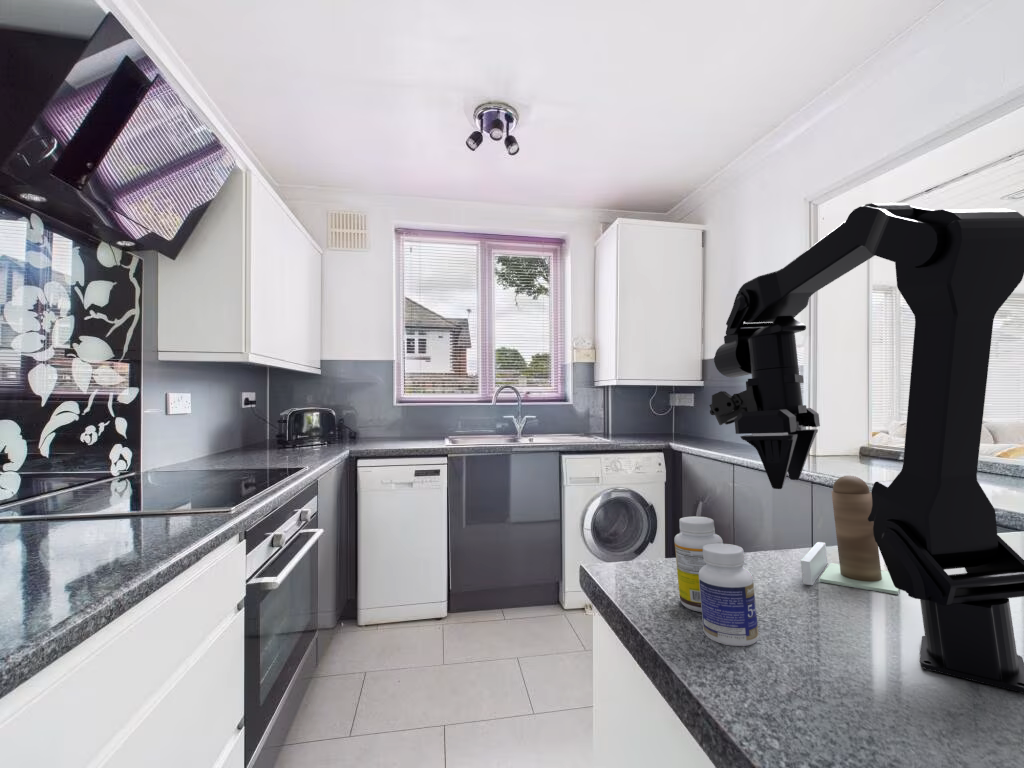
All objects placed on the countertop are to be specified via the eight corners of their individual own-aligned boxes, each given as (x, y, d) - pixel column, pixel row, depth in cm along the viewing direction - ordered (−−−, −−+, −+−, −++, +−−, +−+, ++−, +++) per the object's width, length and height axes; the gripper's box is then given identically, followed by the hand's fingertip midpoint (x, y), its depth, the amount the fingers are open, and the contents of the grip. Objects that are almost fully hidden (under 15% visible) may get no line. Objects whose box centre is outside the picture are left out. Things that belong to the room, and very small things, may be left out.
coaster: (898, 594, 55) (897, 591, 55) (819, 581, 61) (819, 578, 61) (902, 576, 61) (901, 573, 61) (830, 565, 66) (830, 563, 66)
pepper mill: (869, 583, 58) (857, 478, 59) (833, 574, 62) (822, 475, 63) (889, 577, 60) (877, 475, 61) (852, 568, 64) (842, 473, 65)
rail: (812, 585, 60) (809, 561, 60) (803, 583, 60) (800, 560, 60) (827, 563, 67) (825, 542, 68) (819, 562, 68) (817, 541, 68)
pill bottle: (763, 650, 44) (754, 556, 45) (705, 644, 46) (697, 554, 47) (754, 626, 49) (745, 542, 50) (701, 622, 51) (694, 540, 52)
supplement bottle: (708, 594, 59) (701, 513, 60) (740, 610, 53) (731, 521, 54) (670, 600, 57) (663, 517, 58) (698, 618, 52) (690, 526, 53)
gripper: (735, 378, 75) (744, 473, 74) (689, 373, 62) (700, 490, 61) (814, 370, 68) (826, 476, 66) (782, 363, 54) (796, 496, 53)
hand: (786, 483), depth 62 cm, fingers open, 9 cm apart
